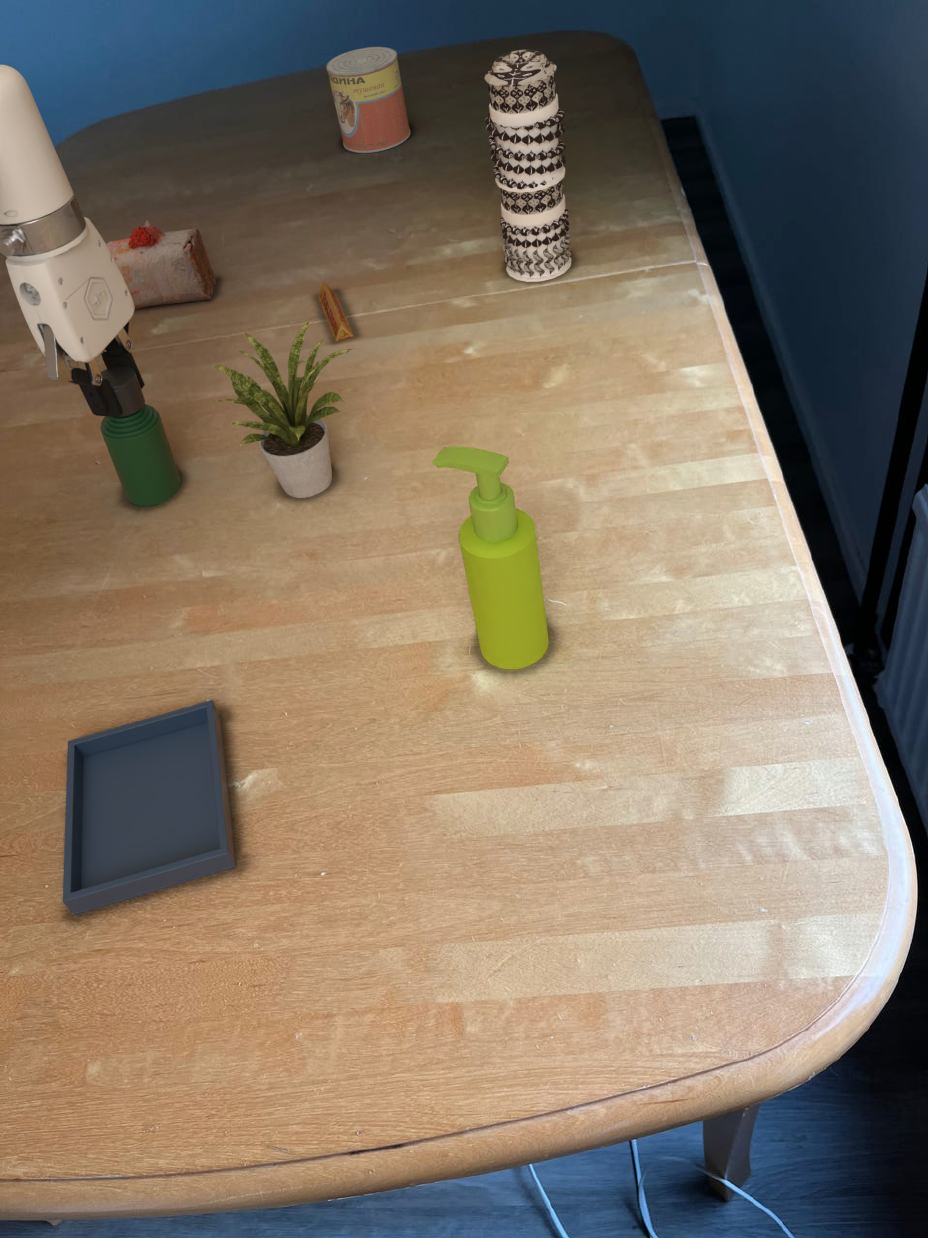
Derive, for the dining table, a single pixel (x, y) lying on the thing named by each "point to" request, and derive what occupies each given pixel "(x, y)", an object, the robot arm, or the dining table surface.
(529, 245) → the decorative candle
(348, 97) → the canned food
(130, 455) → the bottle
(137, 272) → the food item
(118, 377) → the cap
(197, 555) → the dining table surface
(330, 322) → the chocolate bar
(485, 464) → the soap dispenser
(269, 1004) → the dining table surface
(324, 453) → the house plant
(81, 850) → the tray
